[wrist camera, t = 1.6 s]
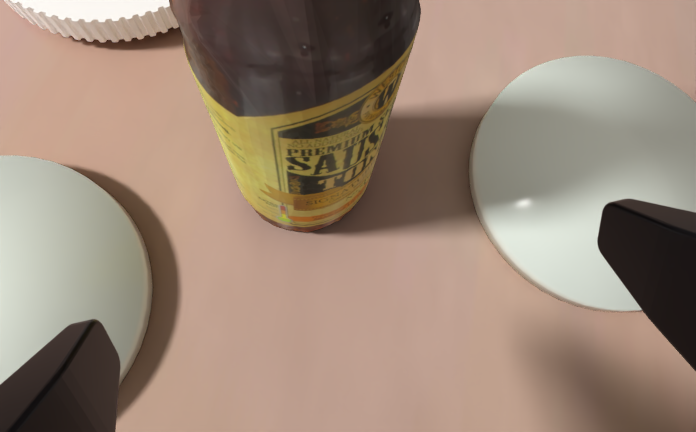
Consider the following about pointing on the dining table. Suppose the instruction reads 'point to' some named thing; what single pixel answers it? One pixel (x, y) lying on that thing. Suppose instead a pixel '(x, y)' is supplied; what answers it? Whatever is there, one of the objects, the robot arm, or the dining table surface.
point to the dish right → (578, 168)
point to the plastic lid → (98, 17)
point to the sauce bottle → (299, 95)
